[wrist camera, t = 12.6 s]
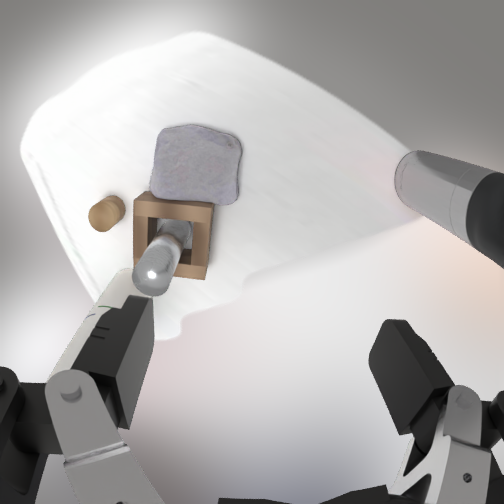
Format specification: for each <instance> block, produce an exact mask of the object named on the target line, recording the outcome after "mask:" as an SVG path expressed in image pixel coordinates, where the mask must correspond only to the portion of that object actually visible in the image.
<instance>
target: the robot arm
mask: <svg viewBox="0 0 504 504" xmlns="http://www.w3.org/2000/svg"><path fill="white" fill-rule="evenodd" d="M395 187H396V191H397V194H398V196H399V198H400V199H401V201H402V202H403V203H404V204H406V205H407V206H409V207H411V208H412V209H414V210H416V211H417V212H419V213H420V214H422V215H424V216H425V217H427V218H429V219H430V220H432V221H434V222H435V223H437V224H438V225H440V226H442V227H443V228H445V229H446V230H448V231H450V232H451V233H452V234H454V235H455V236H457V237H458V238H460V239H462V240H463V241H465V242H466V243H468V244H469V245H471V246H472V247H474V248H475V249H476V250H478V251H479V252H481V253H482V254H484V255H485V256H487V257H488V258H490V259H491V260H493V261H494V262H495V263H497V264H498V265H499V266H501V267H502V268H503V269H504V174H503V173H499V172H496V171H493V170H490V169H487V168H484V167H480V166H477V165H474V164H470V163H467V162H464V161H460V160H457V159H452V158H449V157H445V156H441V155H438V154H434V153H429V152H425V151H413V152H411V153H409V154H408V155H406V156H405V157H404V158H403V159H402V160H401V162H400V164H399V165H398V168H397V171H396V175H395ZM153 346H154V319H153V300H152V298H149V297H142V296H135V295H129V296H128V297H127V299H126V301H125V302H124V304H123V306H122V308H121V309H120V308H114V307H112V308H111V309H110V310H108V311H107V312H105V313H104V314H102V315H101V317H100V318H99V320H98V322H97V323H96V325H95V328H93V330H92V332H91V333H90V337H88V338H87V340H86V342H85V344H84V345H83V347H82V349H81V351H80V352H79V354H78V356H77V358H76V359H75V361H74V363H73V365H72V367H71V368H70V370H63V371H60V372H58V373H56V374H55V375H53V376H52V377H51V378H50V379H49V380H48V382H47V383H23V382H19V380H18V378H17V376H16V374H15V373H14V372H13V371H12V370H11V369H9V368H6V367H0V504H35V500H36V496H37V492H38V489H39V485H40V481H41V478H42V474H43V471H44V467H45V464H46V460H47V457H48V455H49V454H63V455H64V457H65V462H64V468H65V471H66V474H67V477H68V479H69V482H70V484H71V486H72V488H73V491H74V493H75V495H76V498H77V500H78V502H79V504H165V503H164V502H163V501H162V499H161V497H160V496H159V495H158V493H157V492H156V490H155V489H154V487H153V486H152V484H151V483H150V481H149V480H148V478H147V476H146V475H145V473H144V472H143V470H142V469H141V467H140V465H139V463H138V462H137V460H136V459H135V457H134V455H133V454H132V452H131V450H130V449H129V447H128V446H127V444H125V443H124V442H123V440H122V438H121V436H120V435H119V433H118V431H117V430H118V427H119V428H124V429H128V430H129V429H130V425H131V421H132V418H133V414H134V411H135V407H136V404H137V400H138V397H139V394H140V390H141V387H142V384H143V380H144V377H145V374H146V371H147V367H148V364H149V361H150V358H151V355H152V352H153ZM369 367H370V370H371V372H372V374H373V376H374V378H375V380H376V383H377V385H378V387H379V389H380V392H381V394H382V396H383V399H384V401H385V403H386V405H387V408H388V410H389V412H390V415H391V417H392V419H393V422H394V424H395V426H396V429H397V431H398V434H399V435H404V434H409V433H412V434H413V436H414V437H413V438H412V439H411V440H410V442H409V444H408V447H407V450H406V454H405V456H404V459H403V462H402V465H401V467H400V470H399V473H398V476H397V478H396V481H395V482H394V484H393V486H392V487H391V489H390V490H389V491H388V490H387V487H386V485H382V486H377V487H372V488H367V489H362V490H357V491H351V492H349V493H346V494H343V495H341V496H338V497H336V498H334V499H331V500H328V501H325V502H322V503H320V504H504V475H502V473H501V471H500V468H499V466H498V464H497V462H496V459H495V457H494V455H493V453H492V451H491V448H492V447H493V446H494V445H495V444H496V443H497V442H498V441H499V440H500V439H501V438H502V439H503V441H504V391H501V392H499V393H498V395H497V396H496V397H495V398H494V400H493V401H492V402H491V401H481V400H480V398H479V396H478V395H477V394H476V393H475V392H474V391H473V390H472V389H470V388H468V387H466V386H463V385H456V386H455V384H454V383H453V381H452V380H451V378H450V377H449V375H448V374H447V373H446V371H445V369H444V368H443V366H442V365H441V363H440V362H439V360H437V357H436V356H435V354H434V353H432V350H431V349H430V347H429V346H428V344H427V343H426V342H425V341H424V340H423V339H422V338H421V337H420V336H418V335H417V334H416V333H415V332H414V330H413V329H412V327H411V326H410V325H409V323H408V322H407V321H406V320H396V319H387V320H385V321H384V323H383V324H382V326H381V328H380V331H379V333H378V335H377V338H376V340H375V343H374V345H373V347H372V349H371V351H370V354H369ZM218 504H289V503H283V502H277V501H272V500H266V499H230V498H219V500H218Z"/></svg>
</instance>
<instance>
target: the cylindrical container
mask: <svg viewBox="0 0 504 504" xmlns="http://www.w3.org/2000/svg"><path fill="white" fill-rule="evenodd" d="M132 271H133V269H123V270H121V271H119V272H118V273H117V274H116V275H115V277H114V278H113V279H112V281H111V282H110V284H109V285H108V286H107V288H106V289H105V291H104V292H103V293H102V295H101V296H100V298H99V299H98V301H97V302H96V304H95V305H94V307H93V308H92V309H91V311H90V312H89V314H88V315H87V317H86V318H85V320H84V321H83V323H82V325H81V326H80V328H79V329H78V331H77V332H76V334H75V335H74V337H73V338H72V340H71V342H70V343H69V345H68V346H67V348H66V350H65V351H64V353H63V355H62V356H61V358H60V360H59V361H58V363H57V364H56V366H55V368H54V370H53V371H52V373H51V375H50V376H49V378H48V380H49V379H50V378H51V377H52V376H53V375H55V374H56V373H58V372H60V371H63V370H70V368H71V367H72V365H73V363H74V361H75V359H76V358H77V356H78V354H79V352H80V351H81V349H82V347H83V345H84V344H85V342H86V340H87V338H88V337H90V333H91V332H92V330H93V328H95V325H96V323H97V322H98V320H99V318H100V317H101V315H102V314H104V313H105V312H107V311H108V310H110V309H111V308H112V307H114V308H120V309H121V308H122V306H123V304H124V302H125V301H126V299H127V297H128V296H129V295H135V296H142V297H149V298H152V297H153V296H148V295H145V294H143V293H141V292H140V291H139V290H138V289H137V288H136V287H135V285H134V284H133V281H132ZM48 380H47V382H48ZM47 382H46V383H47Z"/></svg>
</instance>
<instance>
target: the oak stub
mask: <svg viewBox="0 0 504 504" xmlns="http://www.w3.org/2000/svg"><path fill="white" fill-rule="evenodd" d="M124 214H125V205H124V203H123V201H122V200H121V199H120V198H119V197H117V196H108V197H106V198H105V199H103V200H102V201H100V202H98V203H97V204H95V205H94V206H92V207H91V209H90V211H89V215H88V217H89V222H90V224H91V226H92V227H93V228H94V229H95V230H97V231H99V232H106V231H108V230H110V229H111V228H112V227H113V226H114V225H115V224H116V223H117V222H119V221H120V220H121V219H122V218H123V216H124Z"/></svg>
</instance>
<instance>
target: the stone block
mask: <svg viewBox="0 0 504 504" xmlns="http://www.w3.org/2000/svg"><path fill="white" fill-rule="evenodd" d="M241 154H242V149H241V147H240V142H239V141H238V140H237V139H235V138H234V137H233V136H231V135H229V134H226V133H220V132H217V131H214V130H212V129H207V128H204V127H200V126H195V125H186V126H182V127H175V128H164V129H163V130H162V131H161V132H160V133H159V135H158V137H157V142H156V149H155V155H154V167H153V170H152V175H151V178H150V183H149V184H150V186H149V188H150V190H151V192H152V194H153V195H154V196H155V197H156V198H161V199H167V200H179V201H201V202H209V203H214V204H218V205H229V204H232V203H233V202H234V201H236V200H237V197H238V193H239V188H238V183H237V171H238V163H239V160H240V157H241Z"/></svg>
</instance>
